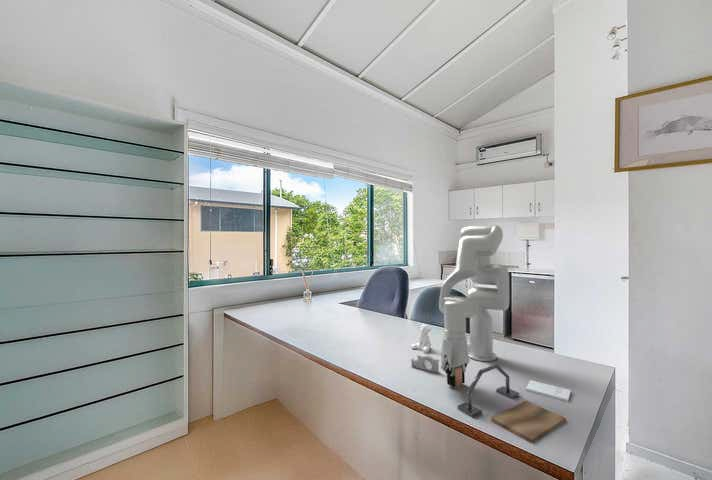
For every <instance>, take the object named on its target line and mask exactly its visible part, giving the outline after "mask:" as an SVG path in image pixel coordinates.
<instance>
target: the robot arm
mask: <svg viewBox="0 0 712 480" xmlns="http://www.w3.org/2000/svg"><path fill="white" fill-rule="evenodd" d="M503 232H504V231H503V229H502V227H501V226H499V225H495V224H491V225H490V224H489V225H488V224H487V225H469V226H464V227H462V228H461V229H460V238H459V240H458V246H457V252H456V260H455V267H454V271H453V272H452V273H450V274H449V275H448V276H447V277H446V279H445V280H444V281H443V283H442V285H441V288H440V293H439V300H438V307H439V312H441V313H442V314H443V318H444V321H443V324H444V337H443V338H442V343H441V350H440V351H441V353H440V354H441V355H440V361H441V362H440V363H441V365H440V370H442V371H444V372H445V374H446V383H447V385H448V386H449V387H451V386H452V387H455V376H454V369H455V367H458V366H462V384H466V383H465V380H466V379H465V374H466V372H467V370H466V369H467V367H468V364H469V363H470V361H471V360H470V359H472V360H475V361H478V362H493V361H495V360H497V357H498V356H497V354H496V352H494V350H493V349H494V348H493V347H494V345H493V343H494V342H493V317H492V315H491V314H490V312H489V311H488V310H492V311H493V310H494V311H506V310H508V309H509V308H510V307H509V306H510V274H509V270H508V267H507V265H505V264H502V263H492V262H491V256H494V255H495V254H496V253H497V251H498V249H499V247H500V245H501V243H502V241H503V236H504V233H503ZM467 279H470V280H471V282H472V283H473V284H477V285H488V286H495V287H488V286H487V287H486V286H484V287H483V286H482V287H481V286H474V287H471V288H469V289H468V291H467V294H466V296H459V295H450V293H451V291H452V289H453V288H454V287H455V286H456V285H457V284H458V283H461V282H463V281H465V280H467ZM468 318H469V341H468V340H467V339H468V338H467V327H466V325H467V324H466V323H467V320H466V319H468ZM450 368H451V371H450ZM452 387H451V388H452Z"/></svg>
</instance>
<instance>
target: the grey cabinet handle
mask: <svg viewBox="0 0 712 480" xmlns="http://www.w3.org/2000/svg"><path fill="white" fill-rule="evenodd" d="M495 369H496V370H498V371H499V373H500V374H502V375H503V377H505V386H503V385H502V386H500V387H497V388H496V393H498V394H501V395H502V396H504V397H507V398H509V399H511V400H514V399H516V398H518V397H520V392H518V391H516V390H513V389H511V388H510V375H509V374H508V373H507V372H506V371H505V370H504V369H503V368H502V367H501V366H500V365H499V364H496V363H495V364H492V365H490V366H487V367H484V368H482V369H479V371H478V372H477V374H476V376H475V377H474V379H473V381H472V382H471V384H470V386H469V387H468V389H467V390H466V391H467V392H466V395H467V396H466V401H465V402H463V403H460V404H458V405H457V409H458V410H459V411H461V412H462V413H464V414H466V415H468V416H470V417H471V418H476V417H478V416H480V415H482V413H483V411H482V409H481V408H478V407H476V406H474V405H472V392H473V391H474V389H475V387H476V386H477V384H478V382H479V381H480V378H481V377H482V376H483V374H484V373H487V372H491V371H493V370H495Z"/></svg>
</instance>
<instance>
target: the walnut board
mask: <svg viewBox="0 0 712 480" xmlns="http://www.w3.org/2000/svg"><path fill="white" fill-rule="evenodd" d="M490 418H491V419H490V421H491V422H493V423H494V424H496V425H498V426H500V427H502V428H503V429H505V430H507V431H509V432H511V433H512V434H514V435H516V436H518V437H520V438H522V439H524V440H525V441H527V442H529V443H531V444H532V443H534V442H536V441H537V440H539V439H541V438H543V437H544V436H545V435H546V434H549V433H550V432H551V431H554V430H555V429H556V428H558V427H560V426H561V425H563V424H565V423H566V422H567V417H565V416H563V415H561V414H558V413H556V412H554V411H552V410H549V409H547V408H544V407H542V406H540V405H537V404H535V403H533V402H530V401H528V400H524V401H522V402H520V403H518V404H517V405H514V406H512V407H510V408H508V409H506V410H504V411H502V412H499V413H498V414H496V415H494V416H491V417H490Z"/></svg>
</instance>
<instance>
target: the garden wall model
mask: <svg viewBox="0 0 712 480" xmlns="http://www.w3.org/2000/svg"><path fill="white" fill-rule="evenodd" d="M416 356H417V359H414V358H411V359H410V361H411V367H413V368H417V369H421V370H425V371H428V372H429V371H430V372H433V373H439V369H440V368H439V367H440V366H439V362H440V359H435V358H433V357H432V356H430V355H424V356H423V355H419V354H417V355H416Z"/></svg>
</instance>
